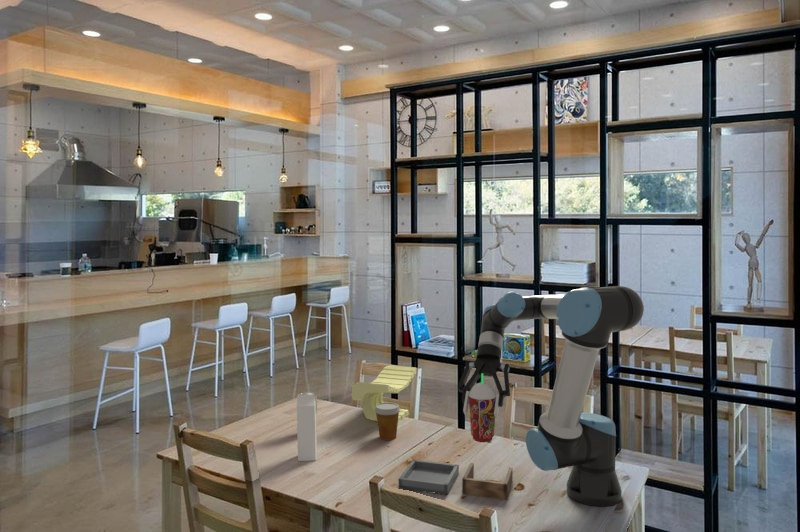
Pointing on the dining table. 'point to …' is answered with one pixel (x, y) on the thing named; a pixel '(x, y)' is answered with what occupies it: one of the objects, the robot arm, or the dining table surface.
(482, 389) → the smoothie
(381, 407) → the disposable coffee cup
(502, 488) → the open-sided wooden box
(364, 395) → the slatted curved stool
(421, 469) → the tray
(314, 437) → the milk
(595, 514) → the dining table surface
